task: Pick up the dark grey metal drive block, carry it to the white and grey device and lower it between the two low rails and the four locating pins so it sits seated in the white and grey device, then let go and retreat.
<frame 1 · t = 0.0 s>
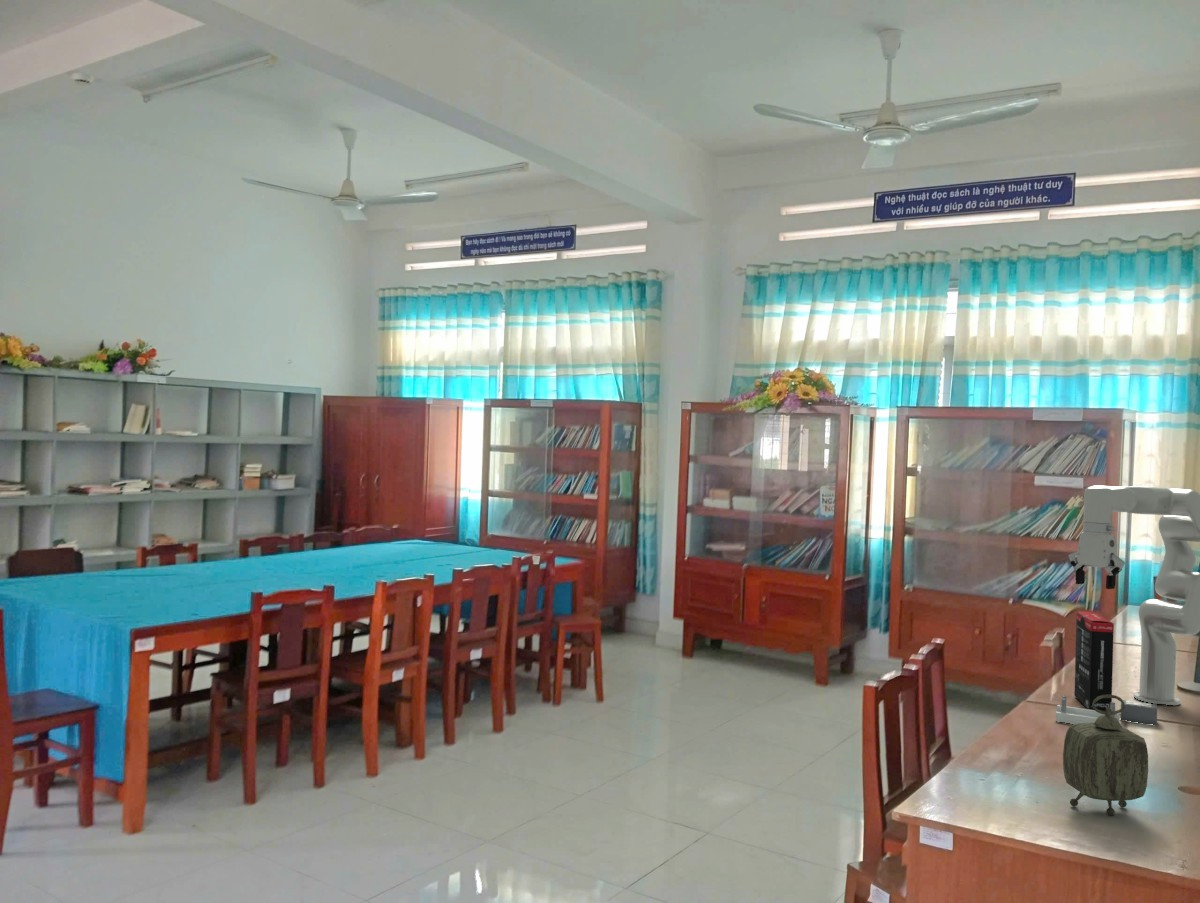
hand: (1094, 586, 286), 37 cm above the table, tool pointing down, fingers open, 9 cm apart
tabletop clock: (1105, 813, 205), on the table
graphics card box: (1091, 705, 294), on the table
drive: (1138, 721, 278), on the table
white and grey device: (1087, 721, 275), on the table
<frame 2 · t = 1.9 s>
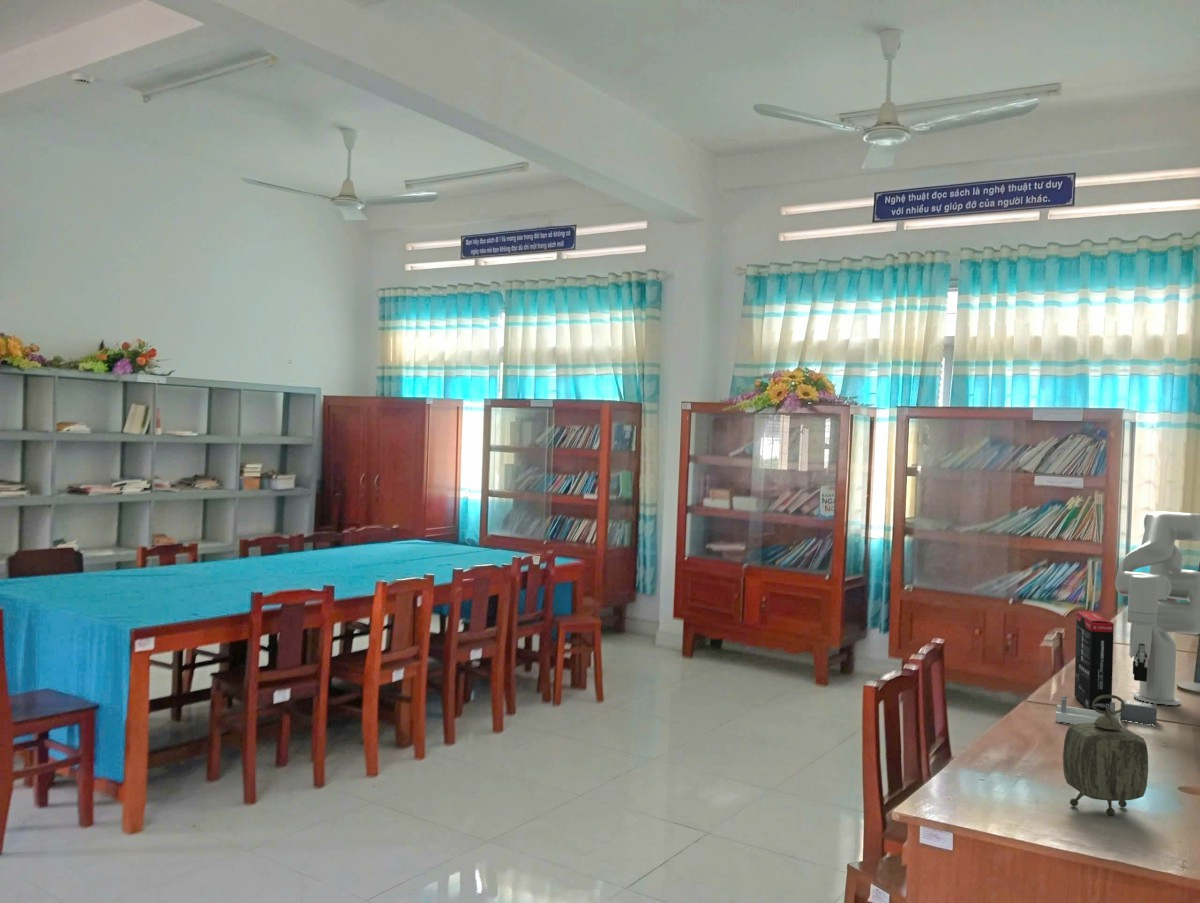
hand: (1139, 677, 277), 13 cm above the table, tool pointing down, fingers open, 9 cm apart
nothing on the table moved.
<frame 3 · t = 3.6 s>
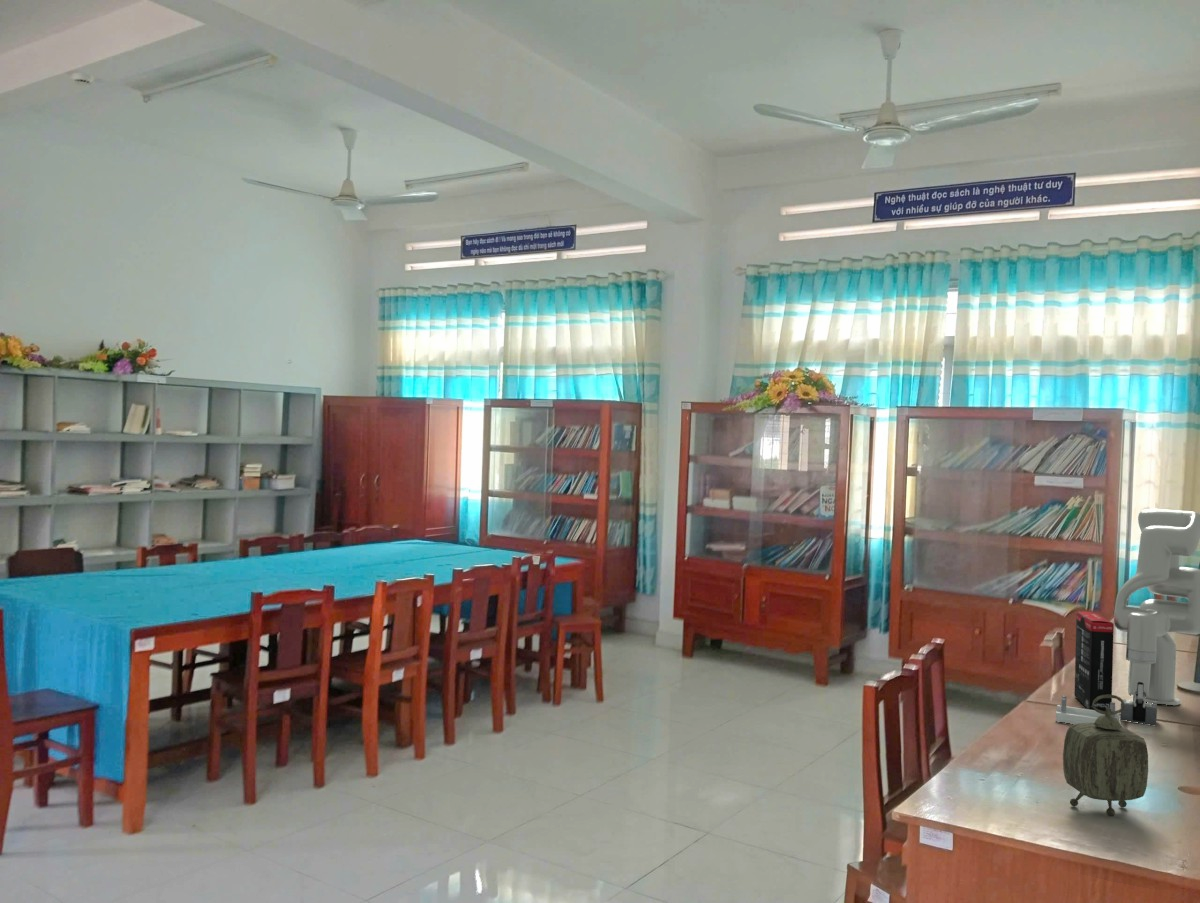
hand: (1138, 717, 278), 1 cm above the table, tool pointing down, fingers closed on drive, 5 cm apart
drive: (1138, 721, 278), on the table, touching gripper
everything else where it was.
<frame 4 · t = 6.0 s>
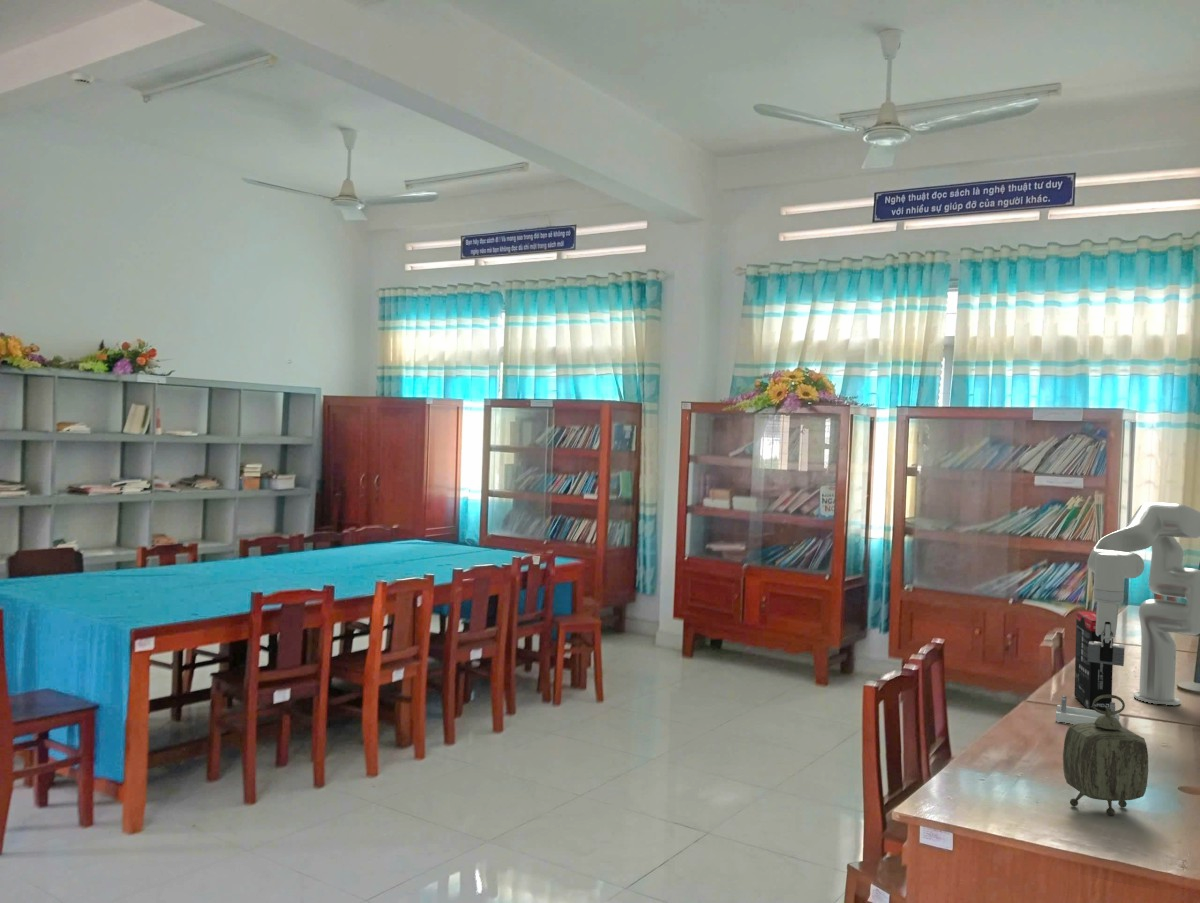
hand: (1105, 658, 275), 18 cm above the table, tool pointing down, fingers closed on drive, 5 cm apart
drive: (1105, 662, 275), point 17 cm above the table, touching gripper
everything else where it was.
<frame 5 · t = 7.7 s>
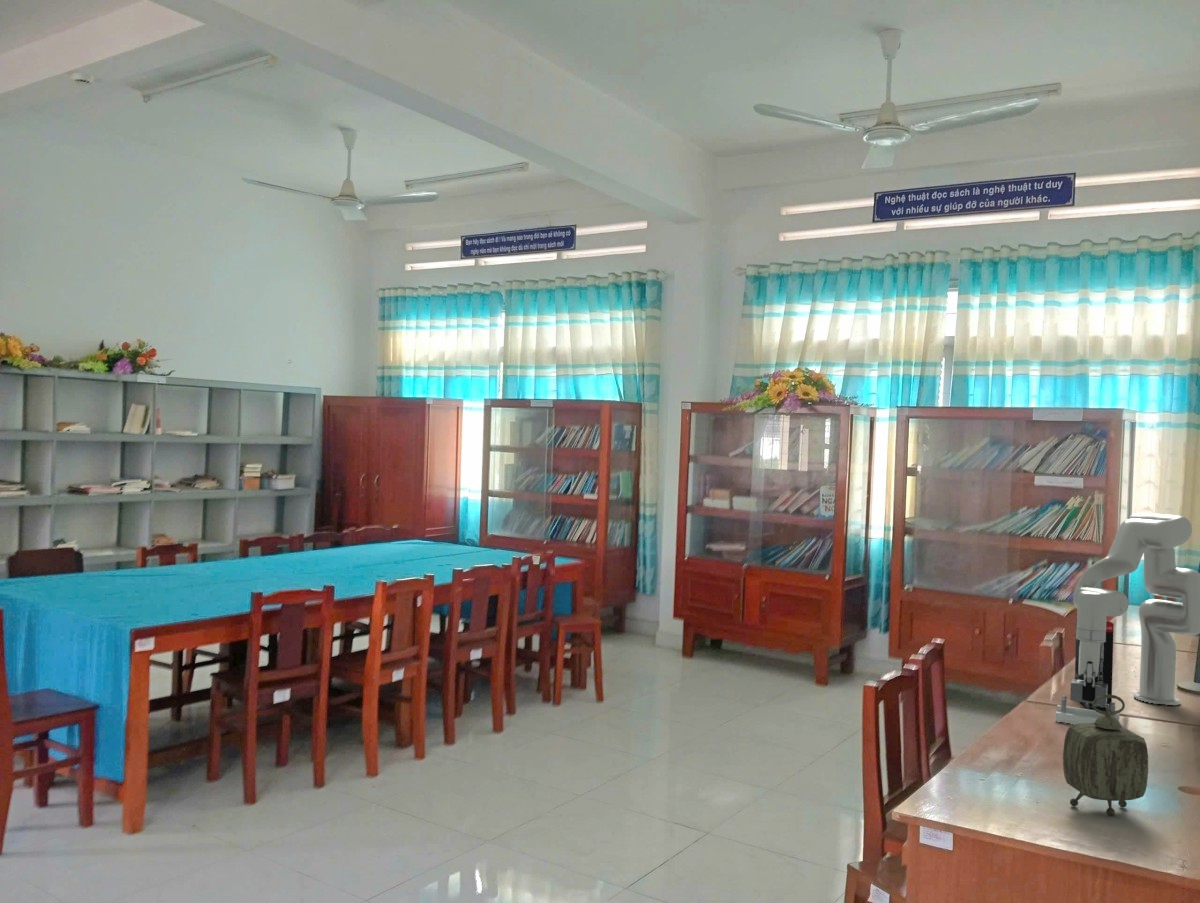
hand: (1088, 697, 275), 7 cm above the table, tool pointing down, fingers closed on drive, 5 cm apart
drive: (1088, 700, 275), point 6 cm above the table, touching gripper
everything else where it was.
when the fingers open (3 cm above the table, at t = 8.9 s): drive drops 1 cm, resting on white and grey device.
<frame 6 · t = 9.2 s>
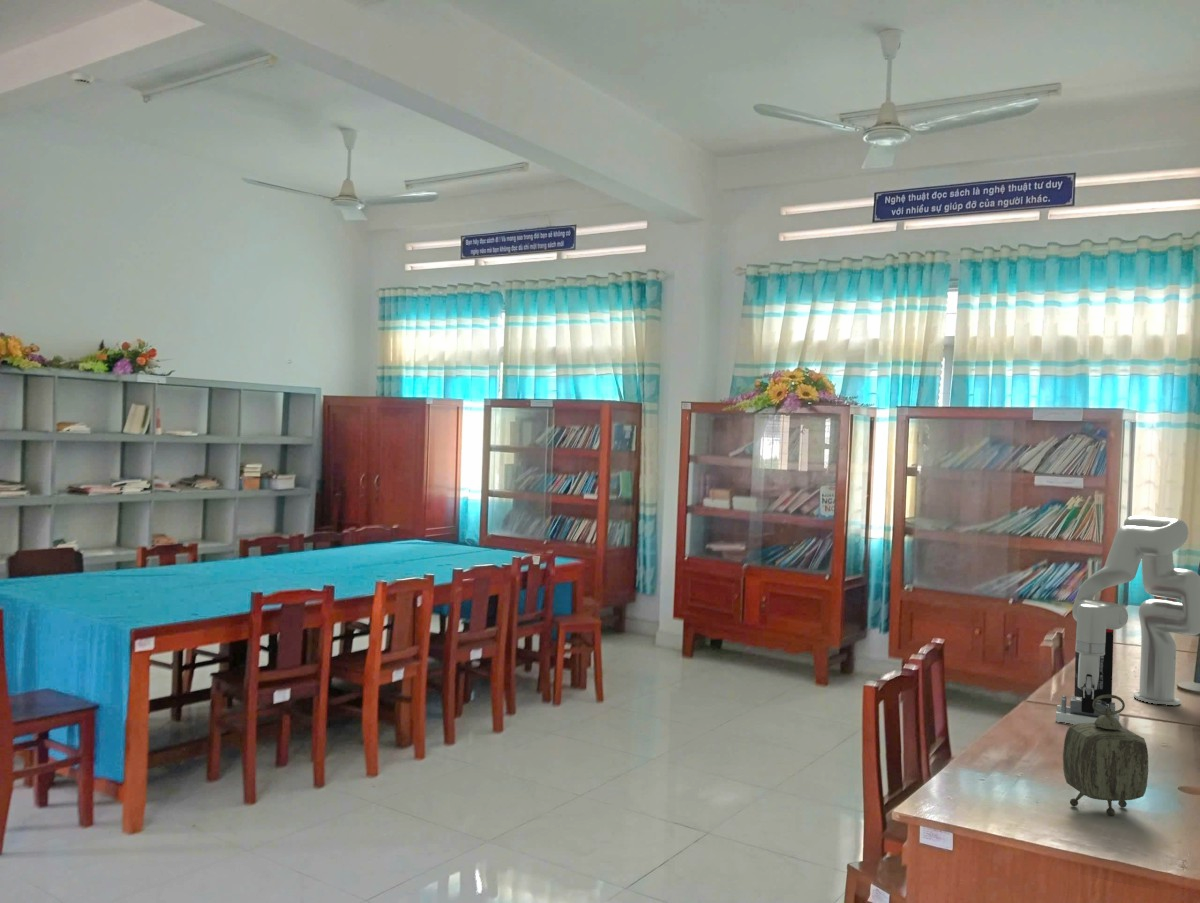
hand: (1087, 708, 275), 4 cm above the table, tool pointing down, fingers open, 8 cm apart
drive: (1087, 718, 275), point 1 cm above the table, touching white and grey device
everything else where it was.
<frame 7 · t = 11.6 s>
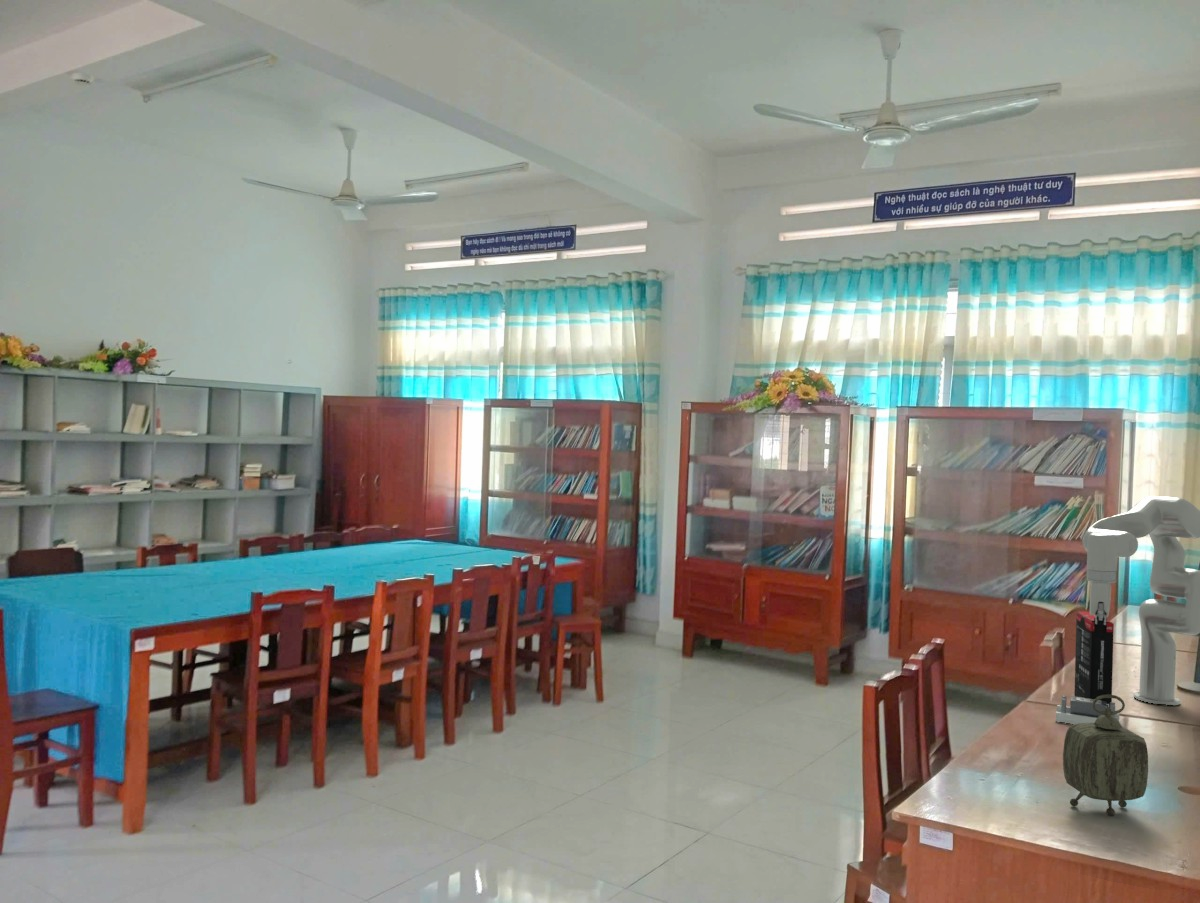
hand: (1100, 635, 278), 24 cm above the table, tool pointing down, fingers open, 9 cm apart
nothing on the table moved.
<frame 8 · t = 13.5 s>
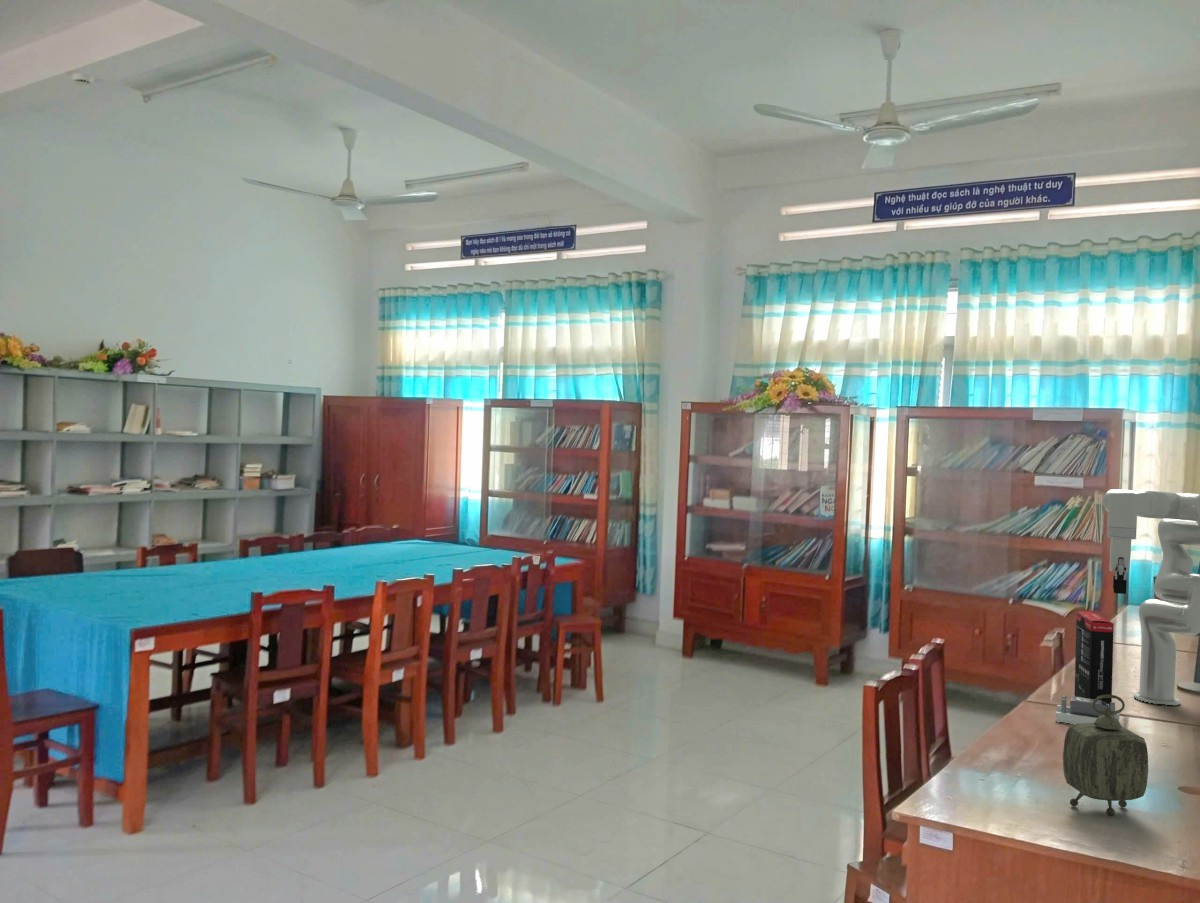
hand: (1119, 591, 284), 36 cm above the table, tool pointing down, fingers open, 9 cm apart
nothing on the table moved.
at the end: drive 0.2 cm off-centre on the white and grey device, point 1.0 cm above the white and grey device's base; drive tilted 0°; the gripper is holding nothing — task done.
